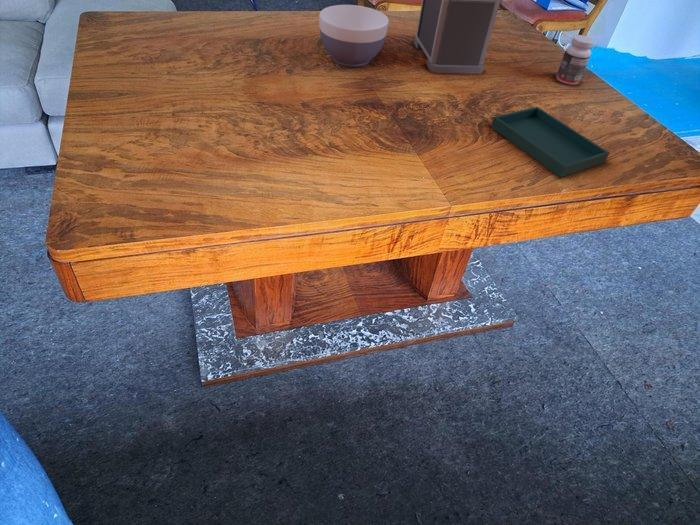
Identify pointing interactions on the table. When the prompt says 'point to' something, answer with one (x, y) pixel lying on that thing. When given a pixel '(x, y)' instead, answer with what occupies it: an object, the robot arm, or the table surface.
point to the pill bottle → (575, 60)
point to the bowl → (352, 33)
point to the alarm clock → (456, 34)
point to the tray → (549, 141)
